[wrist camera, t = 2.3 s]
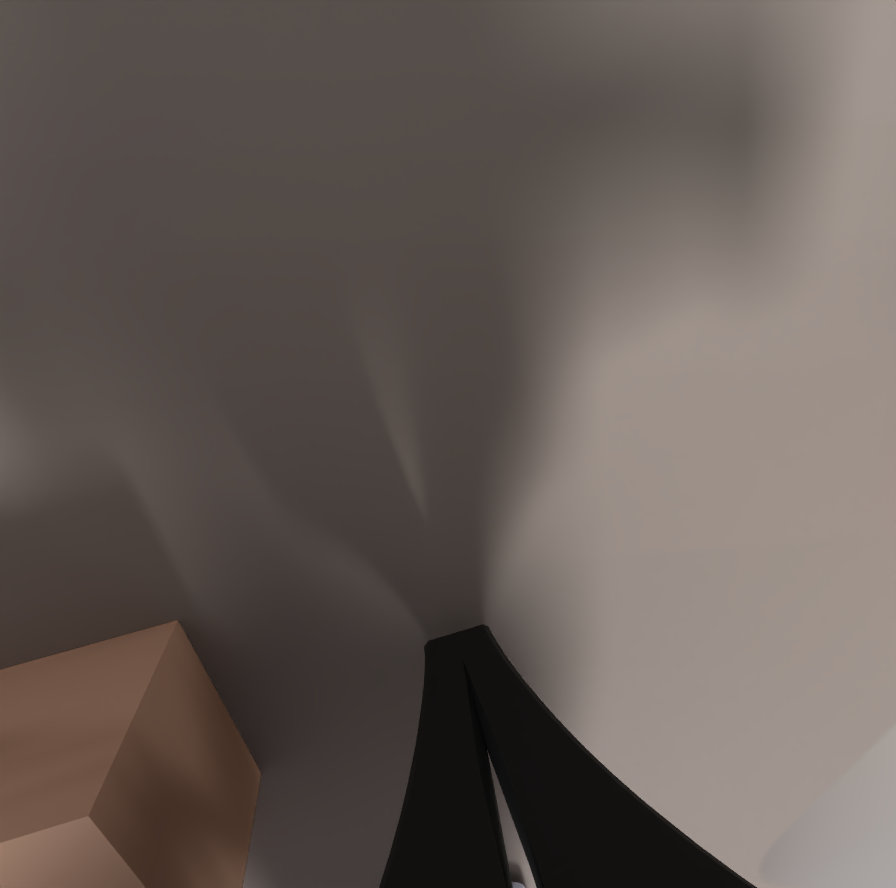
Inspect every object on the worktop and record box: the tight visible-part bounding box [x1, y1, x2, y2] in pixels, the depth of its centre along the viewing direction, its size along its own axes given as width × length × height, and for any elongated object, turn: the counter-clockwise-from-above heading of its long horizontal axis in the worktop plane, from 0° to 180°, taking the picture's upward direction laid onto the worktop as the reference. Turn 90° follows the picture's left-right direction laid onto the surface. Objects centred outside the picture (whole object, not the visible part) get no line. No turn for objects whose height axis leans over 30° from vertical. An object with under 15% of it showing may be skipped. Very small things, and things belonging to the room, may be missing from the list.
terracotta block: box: [0, 620, 261, 888], centre depth 9 cm, size 5×5×4 cm
